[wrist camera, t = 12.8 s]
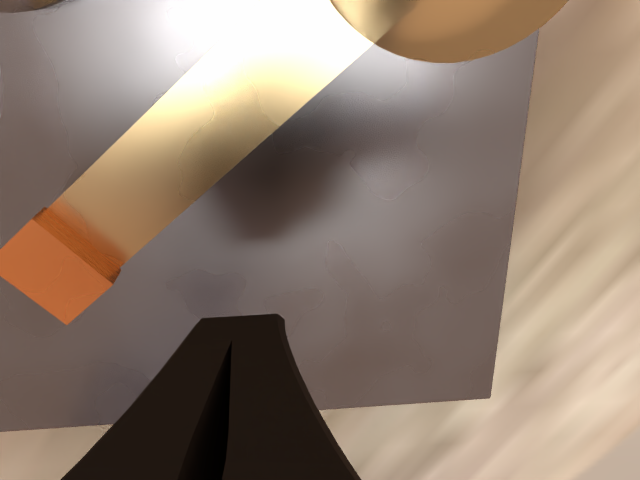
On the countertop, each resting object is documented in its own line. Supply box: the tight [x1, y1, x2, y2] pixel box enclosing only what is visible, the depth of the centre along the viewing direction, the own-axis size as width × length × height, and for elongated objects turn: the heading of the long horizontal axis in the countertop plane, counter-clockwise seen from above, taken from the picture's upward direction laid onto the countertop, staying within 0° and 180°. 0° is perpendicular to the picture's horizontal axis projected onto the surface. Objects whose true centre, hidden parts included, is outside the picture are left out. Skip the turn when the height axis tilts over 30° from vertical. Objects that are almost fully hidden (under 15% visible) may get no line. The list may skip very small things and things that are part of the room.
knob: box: [0, 0, 568, 325], centre depth 9 cm, size 11×4×3 cm, turn 130°
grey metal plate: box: [0, 0, 539, 432], centre depth 11 cm, size 14×19×3 cm
